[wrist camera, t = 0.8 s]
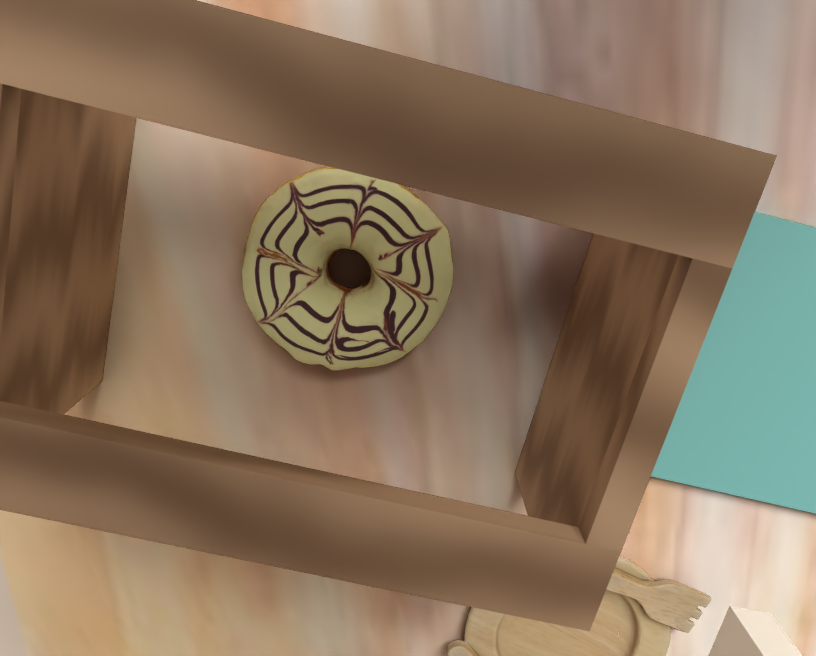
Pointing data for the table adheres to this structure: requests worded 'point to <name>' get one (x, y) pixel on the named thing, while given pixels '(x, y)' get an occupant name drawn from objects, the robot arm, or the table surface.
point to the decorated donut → (326, 300)
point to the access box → (383, 159)
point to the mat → (755, 378)
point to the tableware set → (601, 647)
